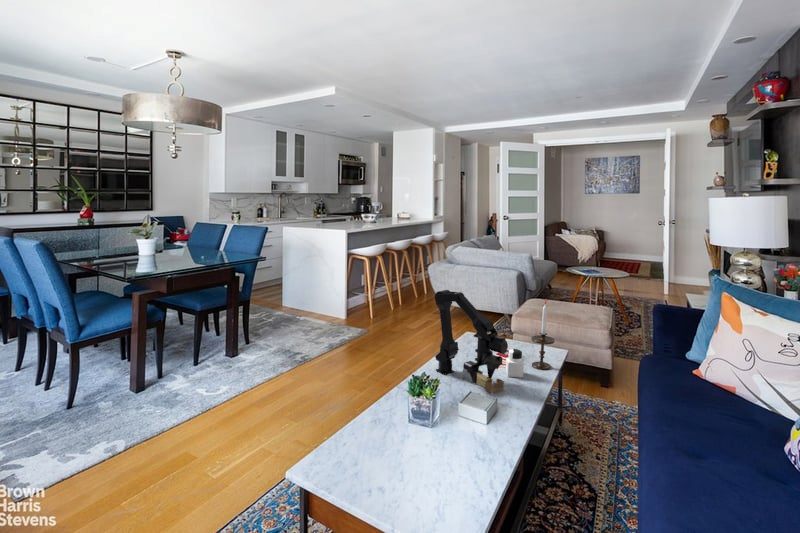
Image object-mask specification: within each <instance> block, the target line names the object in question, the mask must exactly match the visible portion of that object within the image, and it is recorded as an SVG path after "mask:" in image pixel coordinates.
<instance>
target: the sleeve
mask: <svg viewBox="0 0 800 533" xmlns="http://www.w3.org/2000/svg"><path fill="white" fill-rule="evenodd" d="M478 371H479V373H481V374H483V375H484V373H483V372H484V371H482V370H480V369H479V370H478ZM462 380H465V381H466V382H468V383H471V384H474V382H473V380H472V378H471V375H470V373H469V372H468V370H466V369H464V368H463V369H462Z"/></svg>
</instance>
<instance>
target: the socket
mask: <svg viewBox="0 0 800 533" xmlns="http://www.w3.org/2000/svg"><path fill="white" fill-rule="evenodd" d="M504 388H505V381H504V380H502V379H500V378H496V382H494V383H493V382H492V383H490V382H487V383H486V388H485V392H487V393H489V394H491V395H493V394H497V393H500V392H503V391H504V390H505V389H504Z"/></svg>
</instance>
